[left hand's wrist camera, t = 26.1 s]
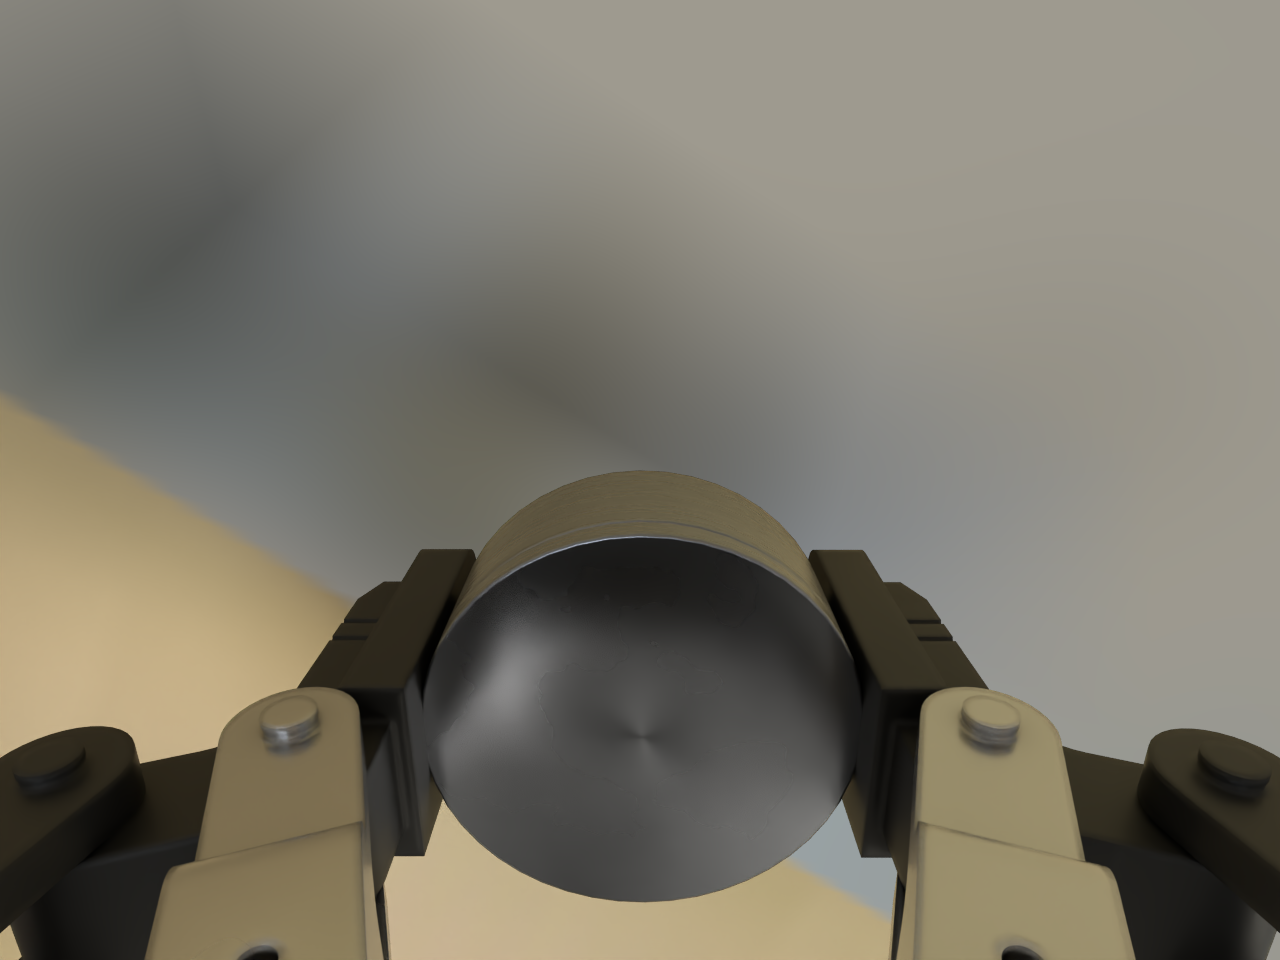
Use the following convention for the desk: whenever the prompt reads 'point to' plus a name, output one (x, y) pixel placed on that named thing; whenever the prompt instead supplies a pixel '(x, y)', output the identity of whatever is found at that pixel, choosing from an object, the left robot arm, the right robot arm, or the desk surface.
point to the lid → (642, 691)
